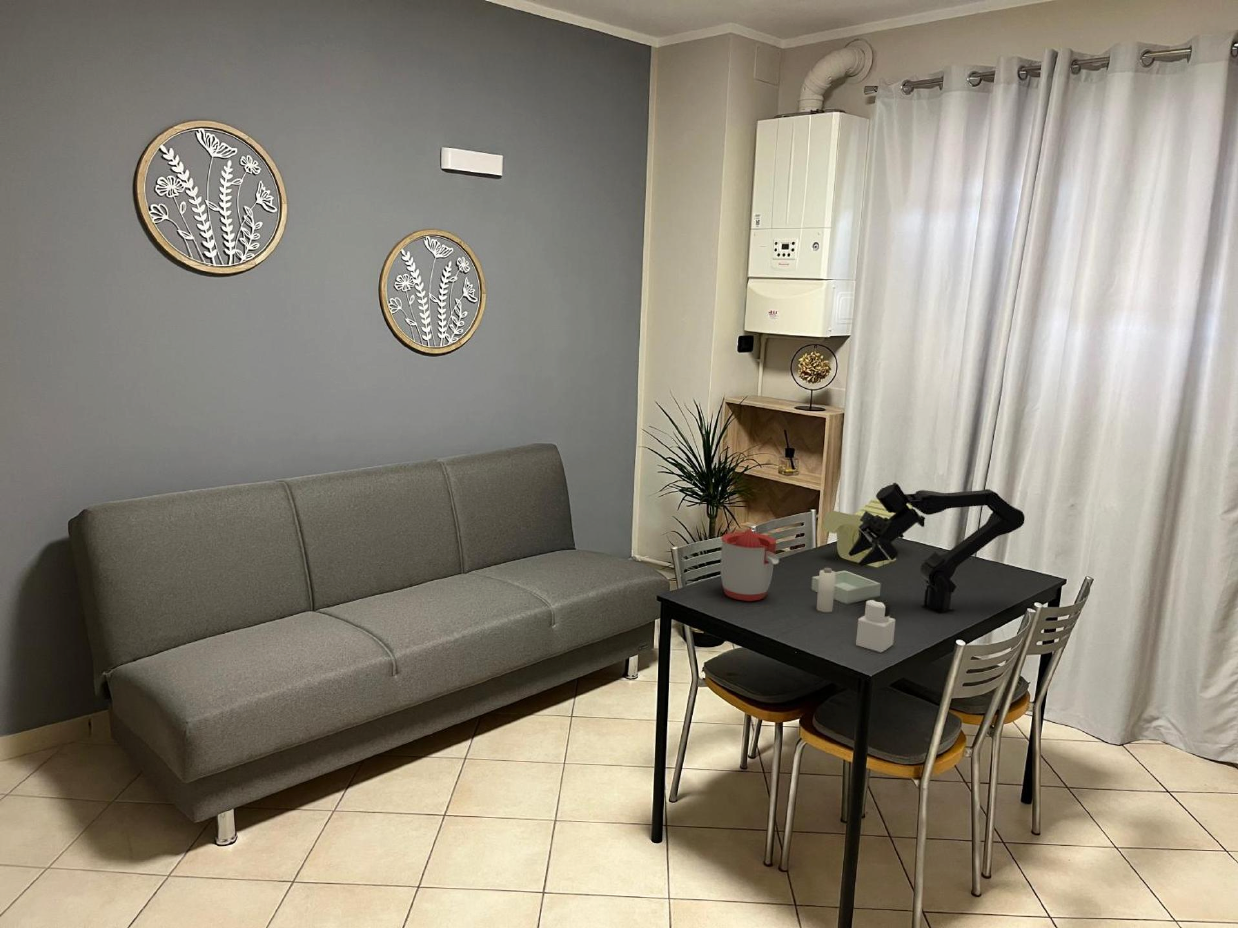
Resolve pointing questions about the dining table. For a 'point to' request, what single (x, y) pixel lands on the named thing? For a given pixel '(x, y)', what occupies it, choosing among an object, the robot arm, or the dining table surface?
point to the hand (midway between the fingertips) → (854, 559)
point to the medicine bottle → (876, 626)
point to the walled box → (851, 587)
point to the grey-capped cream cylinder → (826, 590)
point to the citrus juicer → (747, 564)
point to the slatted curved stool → (853, 529)
